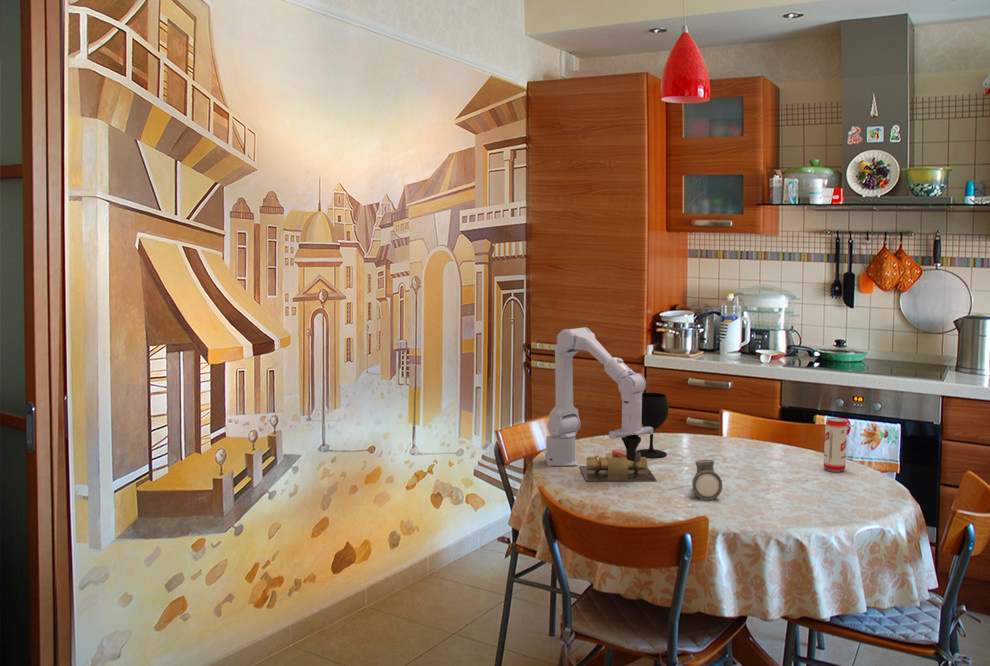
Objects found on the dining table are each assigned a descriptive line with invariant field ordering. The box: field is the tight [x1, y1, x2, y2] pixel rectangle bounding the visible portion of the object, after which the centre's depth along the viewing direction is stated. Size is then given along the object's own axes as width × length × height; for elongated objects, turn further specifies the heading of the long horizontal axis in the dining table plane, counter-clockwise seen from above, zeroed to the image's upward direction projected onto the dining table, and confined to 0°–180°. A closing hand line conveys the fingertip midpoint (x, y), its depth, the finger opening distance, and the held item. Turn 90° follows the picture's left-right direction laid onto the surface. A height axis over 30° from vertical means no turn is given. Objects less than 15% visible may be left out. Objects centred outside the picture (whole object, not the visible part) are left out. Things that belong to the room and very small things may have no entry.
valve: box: [579, 452, 658, 483], centre depth 260 cm, size 21×16×6 cm
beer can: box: [823, 417, 848, 473], centre depth 263 cm, size 6×6×16 cm
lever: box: [611, 448, 641, 462], centre depth 256 cm, size 12×3×2 cm, turn 32°
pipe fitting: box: [691, 459, 723, 501], centre depth 240 cm, size 12×8×10 cm
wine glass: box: [635, 392, 669, 459], centre depth 282 cm, size 10×10×20 cm
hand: (630, 460), depth 252 cm, fingers closed, pressing on lever
